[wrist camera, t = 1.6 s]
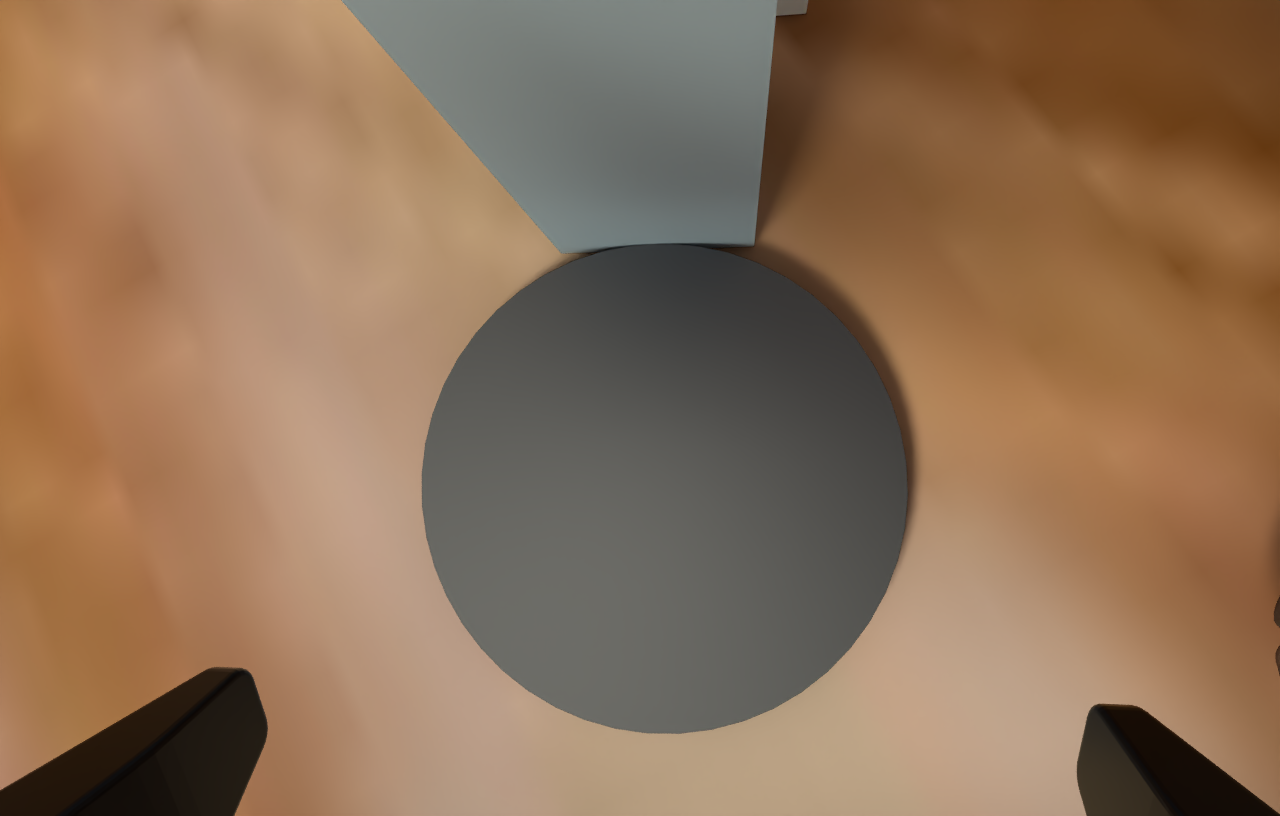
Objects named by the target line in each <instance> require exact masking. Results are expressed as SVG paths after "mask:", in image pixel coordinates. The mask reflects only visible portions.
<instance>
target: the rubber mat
mask: <svg viewBox="0 0 1280 816" xmlns="http://www.w3.org/2000/svg"><path fill="white" fill-rule="evenodd" d="M907 498H908V490H907V469H906V458H905V453H904V448H903V442H902V437H901V431H900V427H899V424H898V421H897V418H896V415H895V412H894V409H893V406H892V403H891V400H890V397H889V395H888V393H887V391H886V389H885V387H884V385H883V383H882V381H881V378H880V376H879V374H878V372H877V370H876V368H875V367H874V365H873V364H872V362H871V361H870V359H869V358H868V356H867V354H866V353H865V351H864V350H863V348H862V347H861V345H860V344H859V342H858V341H857V340H856V339H855V337H854V336H853V335H852V334H851V333H850V332H849V330H848V329H847V328H846V327H845V326H844V325H843V324H842V322H841V321H840V320H839V319H838V318H837V317H836V316H835V315H834V314H833V313H832V312H831V311H830V310H829V309H827V308H826V307H825V306H824V305H823V304H822V303H821V302H820V301H818V300H817V299H816V298H815V297H814V296H813V295H812V294H810V293H809V292H807V291H806V290H804V289H803V288H801V287H800V286H798V285H797V284H795V283H794V282H792V281H791V280H789V279H788V278H786V277H785V276H783V275H781V274H779V273H777V272H775V271H773V270H771V269H769V268H767V267H765V266H763V265H761V264H759V263H756V262H754V261H751V260H748V259H745V258H742V257H739V256H736V255H733V254H730V253H727V252H723V251H718V250H713V249H708V248H703V247H698V246H689V245H675V244H651V245H635V246H628V247H623V248H618V249H613V250H607V251H602V252H599V253H596V254H593V255H590V256H587V257H584V258H581V259H578V260H575V261H572V262H570V263H568V264H566V265H564V266H562V267H560V268H558V269H556V270H554V271H552V272H549V273H547V274H545V275H544V276H542V277H541V278H539V279H538V280H536V281H535V282H533V283H531V284H530V285H528V286H527V287H525V288H524V289H522V290H521V291H519V292H518V293H517V294H516V295H514V296H513V297H512V298H511V299H510V300H509V301H507V302H506V303H505V304H504V305H503V306H501V307H500V308H499V309H498V310H497V311H496V312H495V313H494V314H493V315H492V316H491V317H490V318H489V319H488V320H487V322H486V323H485V324H484V325H483V326H482V327H481V328H480V329H479V330H478V331H477V332H476V334H475V335H474V336H473V338H472V339H471V341H470V342H469V343H468V345H467V346H466V348H465V349H464V351H463V352H462V353H461V355H460V356H459V358H458V359H457V361H456V363H455V365H454V367H453V369H452V370H451V372H450V374H449V376H448V378H447V380H446V382H445V384H444V385H443V388H442V391H441V393H440V396H439V399H438V401H437V404H436V406H435V409H434V412H433V414H432V418H431V423H430V427H429V431H428V435H427V439H426V443H425V451H424V459H423V468H422V508H423V516H424V523H425V530H426V537H427V541H428V544H429V548H430V552H431V556H432V559H433V563H434V567H435V569H436V571H437V574H438V576H439V579H440V581H441V584H442V586H443V589H444V591H445V593H446V596H447V598H448V599H449V601H450V603H451V605H452V606H453V608H454V610H455V612H456V613H457V615H458V617H459V619H460V620H461V622H462V624H463V625H464V626H465V628H466V629H467V630H468V632H469V633H470V634H471V636H472V637H473V638H474V640H475V641H476V642H477V644H478V645H479V646H480V648H481V649H482V650H483V651H484V652H485V653H486V654H487V655H488V656H489V657H490V658H491V659H492V660H493V661H494V662H495V663H496V664H497V665H498V666H499V667H500V668H501V669H502V670H503V671H504V672H505V673H506V674H507V675H509V676H510V677H511V678H513V679H514V680H515V681H516V682H518V683H519V684H520V685H521V686H523V687H524V688H525V689H526V690H528V691H529V692H531V693H533V694H534V695H536V696H538V697H539V698H541V699H543V700H544V701H546V702H548V703H549V704H551V705H553V706H554V707H556V708H559V709H561V710H563V711H565V712H568V713H570V714H572V715H575V716H577V717H579V718H582V719H584V720H587V721H591V722H594V723H598V724H601V725H605V726H608V727H612V728H615V729H622V730H629V731H635V732H642V733H671V734H680V733H688V732H696V731H705V730H712V729H716V728H720V727H724V726H727V725H731V724H735V723H739V722H742V721H745V720H748V719H750V718H752V717H755V716H757V715H760V714H762V713H764V712H767V711H769V710H772V709H774V708H776V707H777V706H779V705H781V704H782V703H784V702H786V701H787V700H789V699H791V698H793V697H794V696H796V695H798V694H799V693H801V692H803V691H804V690H805V689H806V688H808V687H809V686H810V685H811V684H813V683H814V682H815V681H817V680H818V679H819V678H820V677H822V676H823V675H824V674H825V673H827V672H828V671H829V670H830V669H831V668H832V667H833V666H834V665H835V664H836V663H837V662H838V660H839V659H840V658H841V657H842V656H843V655H844V654H845V653H846V652H847V651H848V650H849V649H850V648H851V647H852V645H853V644H854V643H855V641H856V640H857V638H858V637H859V636H860V634H861V633H862V632H863V630H864V629H865V628H866V626H867V625H868V623H869V622H870V621H871V619H872V617H873V615H874V613H875V611H876V609H877V607H878V606H879V604H880V602H881V600H882V598H883V596H884V594H885V593H886V590H887V588H888V585H889V582H890V580H891V577H892V574H893V572H894V569H895V566H896V564H897V561H898V556H899V552H900V548H901V543H902V539H903V534H904V530H905V521H906V509H907Z"/></svg>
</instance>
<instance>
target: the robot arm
mask: <svg viewBox="0 0 1280 816" xmlns="http://www.w3.org/2000/svg"><path fill="white" fill-rule="evenodd" d="M267 731H268V726H267V719H266V716H265V712H264V709H263V706H262V703H261V700H260V697H259V694H258V691H257V688H256V685H255V682H254V679H253V677H252V675H251V674H250V673H249V672H248V671H247V670H246V669H243V668H230V667H214V668H209V669H207V670H205V671H203V672H201V673H200V674H198V675H196V676H195V677H193V678H191V679H189V680H188V681H186V682H184V683H183V684H181V685H179V686H178V687H176V688H174V689H172V690H171V691H169V692H167V693H166V694H164V695H162V696H160V697H159V698H157V699H155V700H154V701H152V702H150V703H148V704H147V705H145V706H143V707H142V708H140V709H138V710H137V711H135V712H133V713H131V714H130V715H128V716H126V717H125V718H123V719H121V720H119V721H118V722H116V723H114V724H113V725H111V726H109V727H108V728H106V729H104V730H102V731H101V732H99V733H97V734H96V735H94V736H92V737H90V738H89V739H87V740H85V741H84V742H82V743H80V744H78V745H77V746H75V747H73V748H72V749H70V750H68V751H67V752H65V753H63V754H61V755H60V756H58V757H56V758H55V759H53V760H51V761H49V762H48V763H46V764H44V765H43V766H41V767H39V768H38V769H36V770H34V771H32V772H31V773H29V774H27V775H26V776H24V777H22V778H20V779H19V780H17V781H15V782H14V783H12V784H10V785H8V786H7V787H5V788H3V789H2V790H0V816H234V815H235V813H236V810H237V808H238V806H239V803H240V801H241V799H242V796H243V794H244V792H245V789H246V787H247V785H248V782H249V780H250V778H251V775H252V773H253V771H254V768H255V766H256V764H257V761H258V759H259V757H260V754H261V752H262V750H263V748H264V745H265V742H266V738H267ZM1077 780H1078V786H1079V790H1080V794H1081V797H1082V801H1083V804H1084V808H1085V811H1086V815H1087V816H1280V814H1279V813H1277V812H1276V811H1275V810H1274V809H1272V808H1271V807H1270V806H1268V805H1267V804H1266V803H1264V802H1263V801H1262V800H1261V799H1259V798H1258V797H1257V796H1255V795H1254V794H1253V793H1251V792H1250V791H1249V790H1248V789H1246V788H1245V787H1244V786H1242V785H1241V784H1240V783H1239V782H1237V781H1236V780H1235V779H1233V778H1232V777H1231V776H1229V775H1228V774H1227V773H1226V772H1224V771H1223V770H1222V769H1220V768H1219V767H1218V766H1216V765H1215V764H1214V763H1213V762H1211V761H1210V760H1209V759H1207V758H1206V757H1205V756H1204V755H1202V754H1201V753H1200V752H1198V751H1197V750H1196V749H1194V748H1193V747H1192V746H1191V745H1189V744H1188V743H1187V742H1185V741H1184V740H1183V739H1181V738H1180V737H1179V736H1178V735H1176V734H1175V733H1174V732H1172V731H1171V730H1170V729H1169V728H1167V727H1166V726H1165V725H1163V724H1162V723H1161V722H1159V721H1158V720H1157V719H1156V718H1154V717H1153V716H1152V715H1150V714H1149V713H1148V712H1146V711H1145V710H1143V709H1142V708H1140V707H1137V706H1133V705H1118V704H1097V705H1094V706H1093V707H1092V708H1091V709H1090V711H1089V713H1088V716H1087V720H1086V725H1085V729H1084V734H1083V738H1082V743H1081V747H1080V752H1079V757H1078V761H1077Z"/></svg>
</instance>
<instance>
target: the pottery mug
mask: <svg viewBox="0 0 1280 816" xmlns="http://www.w3.org/2000/svg"><path fill="white" fill-rule="evenodd" d="M1274 621H1275V623H1276V624H1277V625H1278V626H1279V627H1280V597H1279V599H1278V601H1277V603H1276V607H1275V610H1274ZM1276 663H1277V666H1278V671H1279V675H1280V646H1279V647H1278V649H1277V651H1276Z"/></svg>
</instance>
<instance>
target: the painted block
mask: <svg viewBox="0 0 1280 816" xmlns="http://www.w3.org/2000/svg"><path fill="white" fill-rule="evenodd" d="M341 1H342V2H343V3H344V4H345V5H346V6H347V7H348V9H349V10H350V11H351V12H352V13H353V14H354V15H355V17H356V18H357V19H358V20H359V21H360V22H361V24H362V25H363V26H364V27H365V28H366V29H367V30H368V32H369V33H370V34H371V35H372V36H373V37H374V39H375V40H376V41H377V42H378V43H379V44H380V45H381V47H382V48H383V49H384V50H385V51H386V52H387V53H388V55H389V56H390V57H391V58H392V59H393V60H394V62H395V63H396V64H397V65H398V66H399V67H400V68H401V70H402V71H403V72H404V73H405V74H406V75H407V76H408V78H409V79H410V80H411V81H412V82H413V83H414V85H415V86H416V87H417V88H418V89H419V90H420V91H421V93H422V94H423V95H424V96H425V97H426V98H427V100H428V101H429V102H430V103H431V104H432V105H433V106H434V108H435V109H436V110H437V111H438V112H439V113H440V114H441V116H442V117H443V118H444V119H445V120H446V121H447V123H448V124H449V125H450V126H451V127H452V128H453V129H454V131H455V132H456V133H457V134H458V135H459V136H460V137H461V139H462V140H463V141H464V142H465V143H466V144H467V146H468V147H469V148H470V149H471V150H472V151H473V152H474V154H475V155H476V156H477V157H478V158H479V159H480V161H481V162H482V163H483V164H484V165H485V166H486V167H487V169H488V170H489V171H490V172H491V173H492V174H493V175H494V177H495V178H496V179H497V180H498V181H499V182H500V184H501V185H502V186H503V187H504V188H505V189H506V190H507V192H508V193H509V194H510V195H511V196H512V197H513V198H514V200H515V201H516V202H517V203H518V204H519V205H520V207H521V208H522V209H523V210H524V211H525V212H526V213H527V215H528V216H529V217H530V218H531V219H532V220H533V222H534V223H535V224H536V225H537V226H538V227H539V228H540V230H541V231H542V232H543V233H544V234H545V235H546V236H547V238H548V239H549V240H550V241H551V242H552V243H553V245H554V246H555V247H556V248H557V249H558V250H559V251H560V253H588V252H602V251H607V250H613V249H618V248H623V247H628V246H635V245H651V244H675V245H689V246H698V247H703V248H724V247H751V246H754V243H755V232H756V221H757V211H758V200H759V190H760V179H761V168H762V158H763V147H764V137H765V126H766V115H767V105H768V94H769V84H770V73H771V62H772V52H773V41H774V30H775V20H776V9H777V0H341Z"/></svg>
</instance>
